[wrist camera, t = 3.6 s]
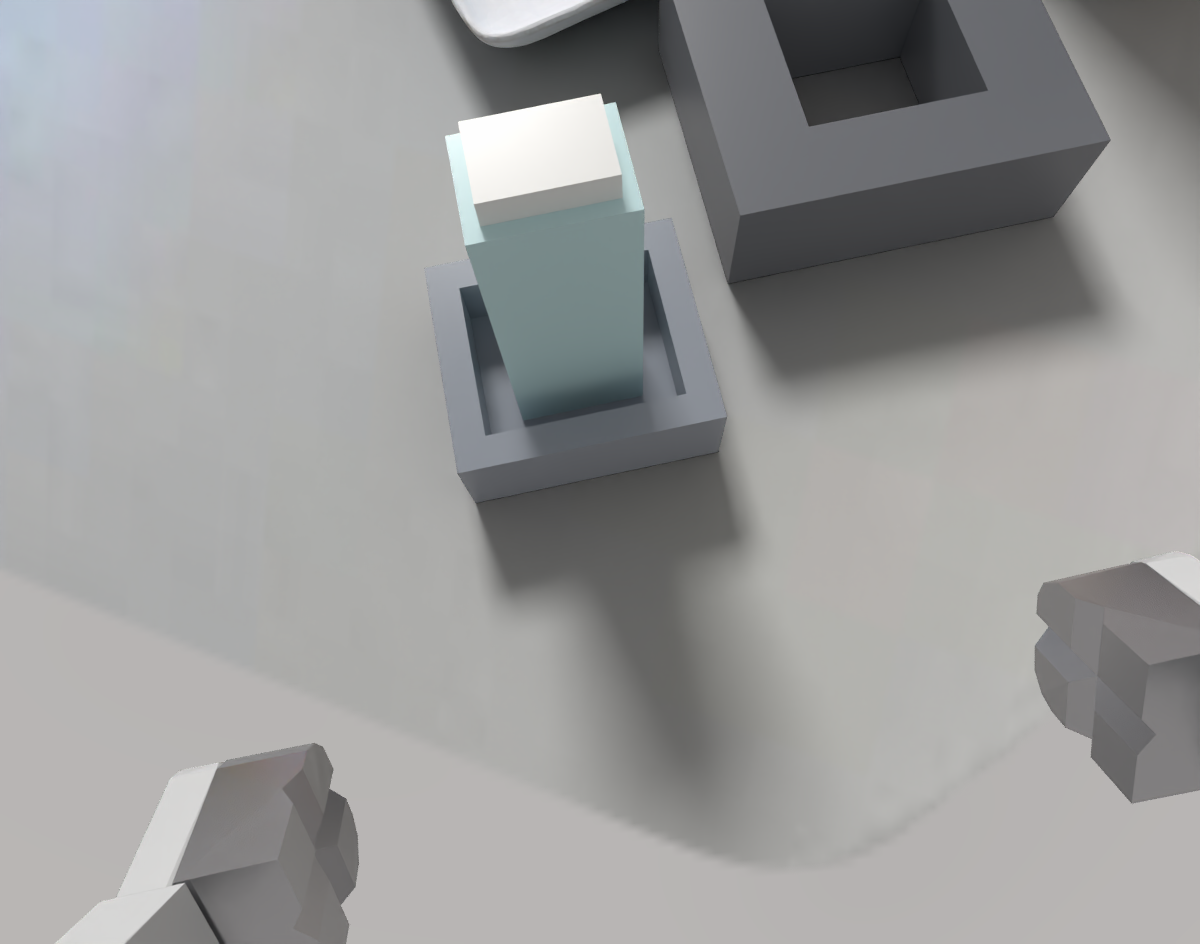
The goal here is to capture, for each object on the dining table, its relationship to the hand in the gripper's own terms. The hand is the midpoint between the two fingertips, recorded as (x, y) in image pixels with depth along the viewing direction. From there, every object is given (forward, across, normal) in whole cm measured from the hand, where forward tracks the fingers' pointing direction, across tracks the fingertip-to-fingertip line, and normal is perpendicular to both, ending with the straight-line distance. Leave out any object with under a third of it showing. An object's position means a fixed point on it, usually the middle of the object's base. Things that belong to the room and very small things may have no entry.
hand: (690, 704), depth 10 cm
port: (+26, -12, -2) cm, 29 cm away
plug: (+20, 0, +3) cm, 20 cm away
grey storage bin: (+21, 0, +3) cm, 21 cm away
